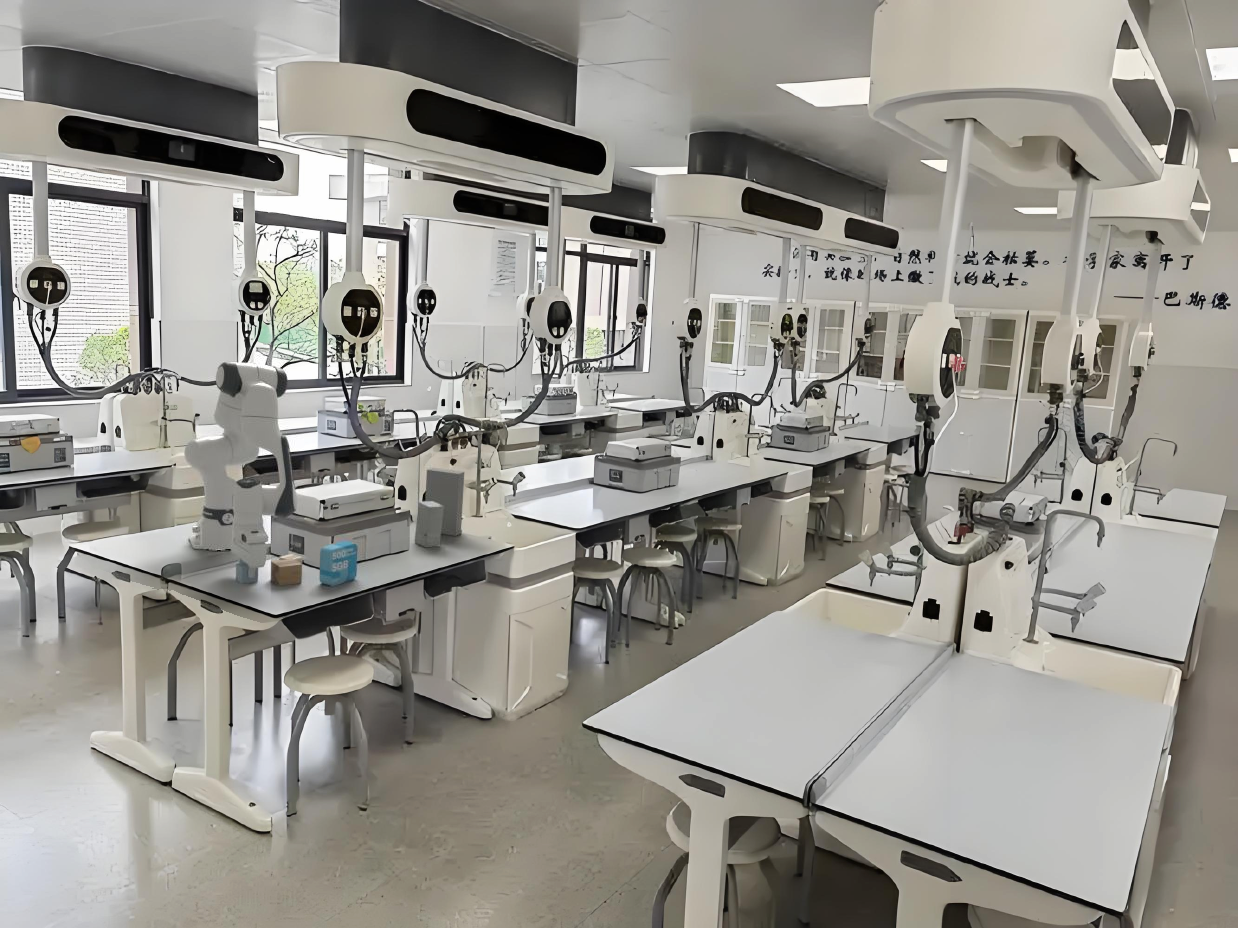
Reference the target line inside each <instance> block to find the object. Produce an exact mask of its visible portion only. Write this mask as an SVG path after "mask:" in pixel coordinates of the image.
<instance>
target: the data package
mask: <svg viewBox="0 0 1238 928" xmlns="http://www.w3.org/2000/svg"><path fill="white" fill-rule="evenodd" d="M357 572H358V545H357V544H356V543H353V542H349V541H345V540H344V541H340V542H336V543H333V544H330V545H325V546H323V547H321V549H320V551H319V578H318V580H319V582H320V584H323V585H326V586H331V587H335V586H337V585H340V584H341V585H342V584H343V583H346V582H350V581H353V580H355V578H356V577H357Z"/></svg>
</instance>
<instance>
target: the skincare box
mask: <svg viewBox="0 0 1238 928" xmlns="http://www.w3.org/2000/svg"><path fill="white" fill-rule="evenodd" d="M417 507H418V508H417V516H416V526H415V535H414V543H415V544H417V545H420V546H421V547H425V548H433V546H434V547H439V546H438V545H441V535H442V534H441V528H442V519H443V511H444V506H442V505H440V504H438V503H435V502H433V501H426V502H425V501H419V502H418V506H417Z"/></svg>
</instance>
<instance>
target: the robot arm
mask: <svg viewBox="0 0 1238 928" xmlns="http://www.w3.org/2000/svg"><path fill="white" fill-rule="evenodd" d="M215 383H216V387H217V388H218V390H219V391H220V392H219V395H218V400H217V403H216V407H215V410H214V414H213V416H214V421H215V423H216V425H217V426H219V427H220V428H222V429H223V433H222V434H220V435H210V436H208V435H207V436H201V437H198V438H194V439H191V440H189V441H188V442H187V443H186V445H185V448H184V459H185V461H186V463H187V464H188V465H189V466H190V467H191V468H193V469H194V470H195V471H196V472H197V473H198V474H199V476H200V477H201V481H202V482H203V488H204V505H203V508H202V516H201V518H200V519H199V520H198V521H196V525H193V526H192V529H191V530H192V533H193V534H190V535H188V538H189V539H188V540H189V541H190V542H189V543H190V544H191V547H192V549H194V550H206V549H209V550H208V551H217V550H216V549H231V550H230V552H231V554H232V555H234V556H236V557H237V558H238V559H237V560H238V563H247V564H248V567H249V570H248V571H247V576H248V577H249V578H253V577H254V576H255V570H256V568H258V569H259V568H264V567H265V565H266V562H267V561H266V560H267V543H268V542H269V535H268V533H267V532H266V531H265V527H264V517H263V516H272V517H273V516H274V517H279V518H285V519H286V518H288V517H290V516H292V515H293V514H294V513H295V512H296V511H297V508H298V501H299V500H298V495H297V492H296V486H295V479H294V478H295V477H294V471H293V463H292V455H291V448H290V443H289V440H288V438H287V436H286V435H285V434H282V432H281V430H280V428H279V426H280V425H279V402H278V398H281V397H283V396H284V394H285V393H286V392H287V388H288V375H287V373H286V372H285V370H284V369H283V368H280V367H278V366H275V365H273V366H271V365H267V364H261V363H255V362H253V363H250V362H235V361H224V362H222V363H221V364H220V365H219V366H218V368H217V371H216V374H215ZM260 449H263V450H265V451H267V452H268V453H271V454H272V455H273V456H274V457H275V459H276V463H277V468H278V477H279V484H278V485H270V484H269V485H267V484H263V483H262V481H261V480H259V479H258V478H255V477H244V478H240V479H238V480H237V481H236V480H235V479H234V478H232V477H230V476H228V474H227V468H228V467H229V468H230V467H238V466H243V465H247V464H250V463H252V462H255V461H256V460H257V458H258V456H259V454H260ZM211 549H212V550H211ZM213 549H214V550H213Z"/></svg>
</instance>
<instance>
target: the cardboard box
mask: <svg viewBox="0 0 1238 928" xmlns="http://www.w3.org/2000/svg"><path fill="white" fill-rule="evenodd" d="M270 562H271V563H270V565H271V566H270V581H272V582H273V583H275V584H276V585H278V586H279V587H280V586H281V587H282V586H286V585H287V586H288V585H289V586H290V585H293V584H294V585H295V584H302V580H303V579H302V578H303V576H302V574H303V563H302V564H301V563H299V562H298V561H296V560H295V559H285V560H279V559H278V560H271V561H270Z"/></svg>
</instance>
